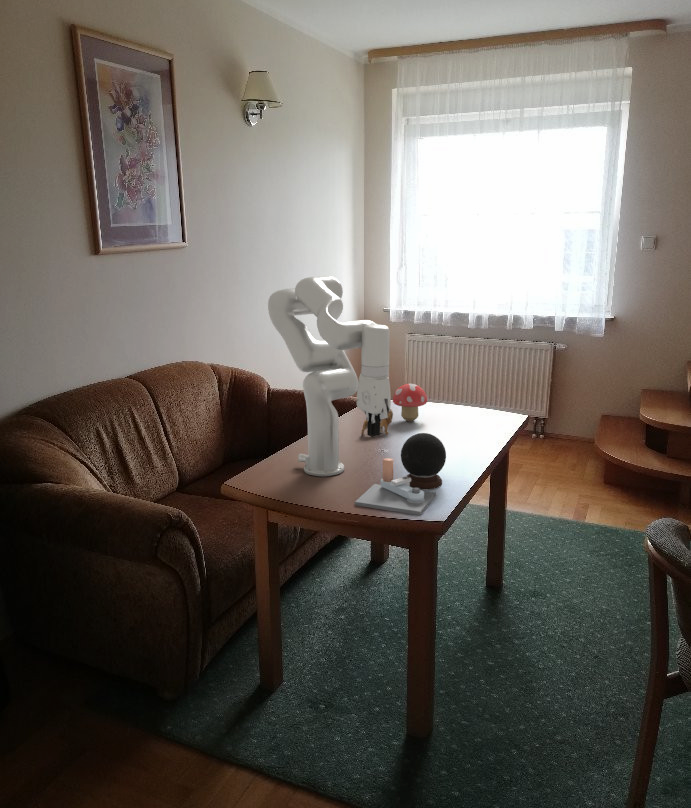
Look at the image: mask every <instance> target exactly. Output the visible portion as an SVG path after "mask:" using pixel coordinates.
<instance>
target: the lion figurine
mask: <svg viewBox="0 0 691 808" xmlns="http://www.w3.org/2000/svg"><path fill="white" fill-rule="evenodd" d="M387 415H388V418H387V419H382V421H381V422H380V434H382V433H384V434H385V435H388V434H389V432H388V429H389V426H390V424H391V423H392V421H393V419H394V417H393V416H394V412H393V410H392V408H390V411H389V412H388V413H387ZM367 423H368V421H367V420H366V419H365V420H364V422H363V425H362V429H361V433H360V435H361V436H360V437H361V438H362V437H364V436H365V431H366V430H367ZM383 427H384V428H383ZM383 429H384V430H383ZM373 437H374V438H375V437H376V436H373ZM373 437H372V438H373Z"/></svg>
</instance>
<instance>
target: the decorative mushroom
mask: <svg viewBox="0 0 691 808" xmlns="http://www.w3.org/2000/svg"><path fill="white" fill-rule="evenodd" d="M392 403H393V404H394V405H396V406H398V407H401V410H400V411H401V412H400V413H401V414H400V415H401V418H402V419H403V420H405V421H406V422H413V421H415V420H416V419H418V418H419V407H422V406H424V405H426V404H427V403H428V396H427V393H426V392H425V390H424V388H422V387H421V386H420V385H418V384H415V383H405V384H403V385H401V386H399V387H398V388H397V389H396V390H395V392H394V394H393V396H392Z"/></svg>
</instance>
